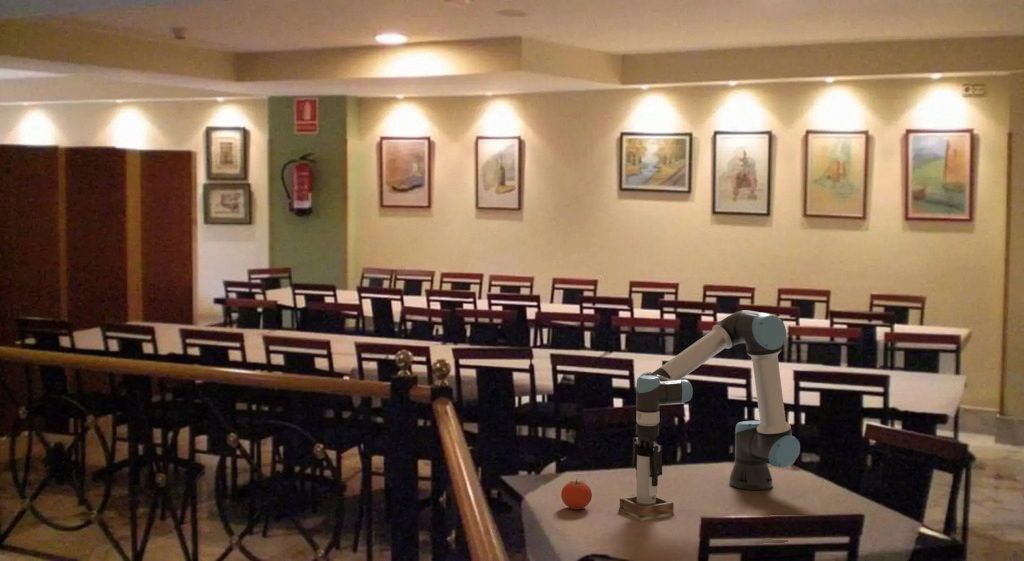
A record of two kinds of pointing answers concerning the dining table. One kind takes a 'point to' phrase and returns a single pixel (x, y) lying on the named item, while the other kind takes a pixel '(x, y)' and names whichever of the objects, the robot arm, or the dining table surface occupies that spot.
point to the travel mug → (644, 477)
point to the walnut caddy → (646, 508)
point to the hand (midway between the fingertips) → (646, 492)
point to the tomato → (576, 494)
